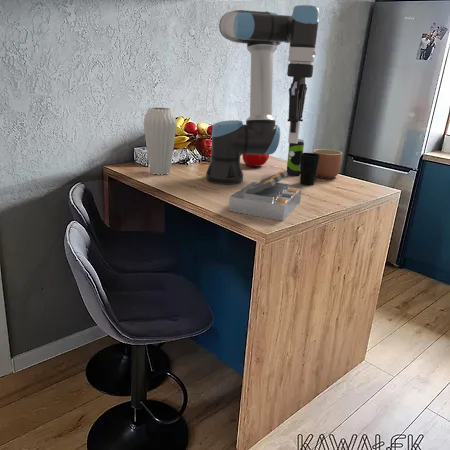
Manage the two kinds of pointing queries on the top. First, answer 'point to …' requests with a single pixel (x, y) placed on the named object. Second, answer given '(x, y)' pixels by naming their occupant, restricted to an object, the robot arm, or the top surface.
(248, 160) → the tomato
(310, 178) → the cup
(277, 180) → the switch
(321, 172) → the planter
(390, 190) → the top surface
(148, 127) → the vase
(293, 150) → the beverage can
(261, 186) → the switch
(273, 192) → the switch unit
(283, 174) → the switch
